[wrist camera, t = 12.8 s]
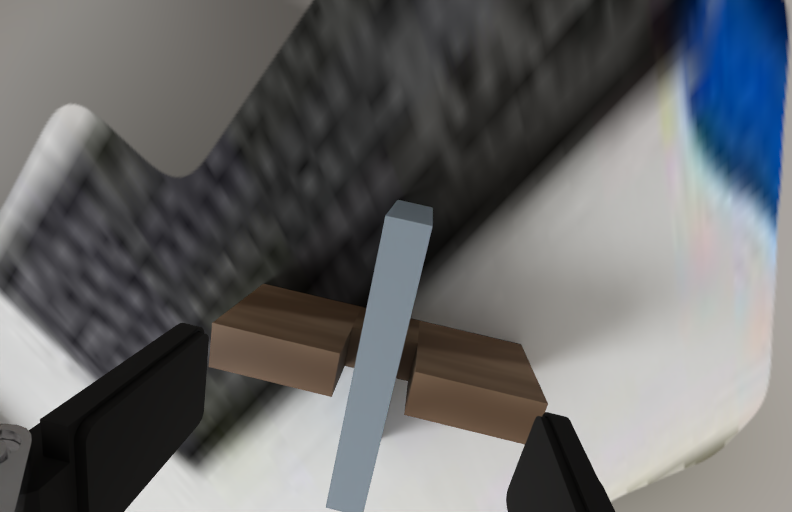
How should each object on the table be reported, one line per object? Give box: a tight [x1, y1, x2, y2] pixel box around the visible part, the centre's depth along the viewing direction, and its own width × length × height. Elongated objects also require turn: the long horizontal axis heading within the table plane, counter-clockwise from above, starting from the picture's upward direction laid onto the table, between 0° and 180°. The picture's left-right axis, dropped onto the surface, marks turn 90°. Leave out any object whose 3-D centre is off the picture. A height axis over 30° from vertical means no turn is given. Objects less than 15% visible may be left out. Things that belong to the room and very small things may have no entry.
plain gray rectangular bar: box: [326, 200, 433, 512], centre depth 26 cm, size 20×2×7 cm, turn 168°
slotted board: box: [209, 284, 548, 444], centre depth 26 cm, size 3×20×7 cm, turn 78°
